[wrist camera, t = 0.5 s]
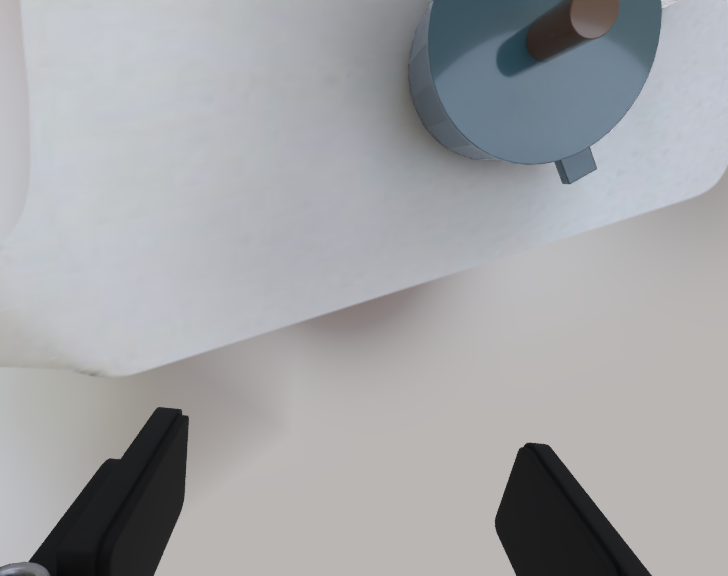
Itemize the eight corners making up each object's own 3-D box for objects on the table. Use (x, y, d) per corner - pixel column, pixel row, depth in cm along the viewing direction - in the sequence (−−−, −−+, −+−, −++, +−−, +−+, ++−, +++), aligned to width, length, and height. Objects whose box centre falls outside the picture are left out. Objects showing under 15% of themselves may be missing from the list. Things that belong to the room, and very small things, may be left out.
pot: (526, -107, 31) (596, -203, 23) (604, 134, 37) (681, 125, 29) (362, -4, 32) (373, -61, 24) (464, 214, 38) (500, 226, 30)
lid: (608, -156, 24) (697, -260, 18) (673, 94, 29) (761, 76, 23) (382, -15, 25) (398, -70, 20) (480, 204, 30) (517, 212, 24)
